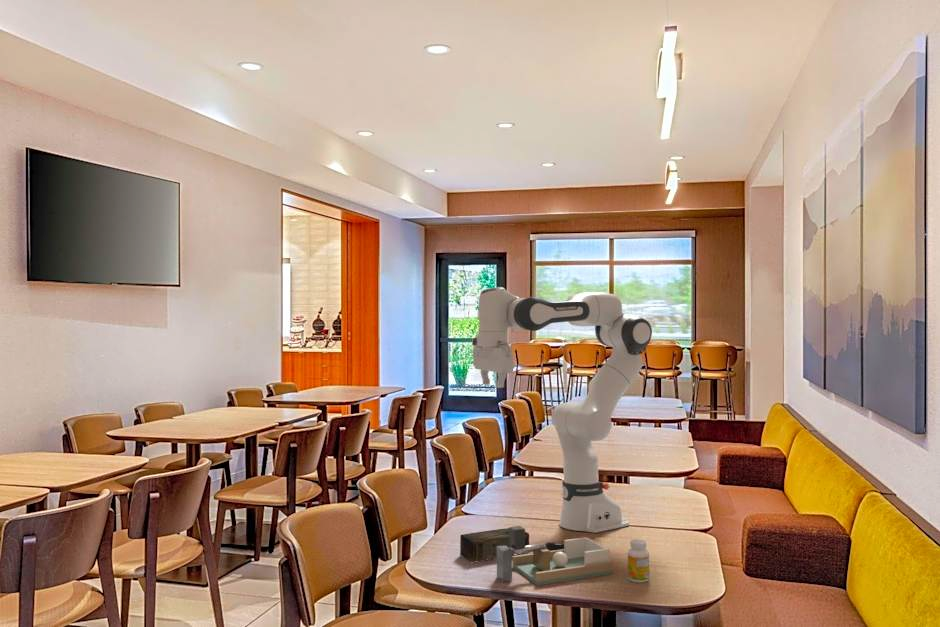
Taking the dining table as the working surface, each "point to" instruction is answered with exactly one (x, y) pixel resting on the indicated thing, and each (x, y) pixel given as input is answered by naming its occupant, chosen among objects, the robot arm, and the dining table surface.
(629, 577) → the supplement bottle
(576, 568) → the foosball board
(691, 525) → the dining table surface
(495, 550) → the olive storage box
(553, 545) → the cell phone
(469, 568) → the dining table surface
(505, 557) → the grey tall block
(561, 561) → the ball
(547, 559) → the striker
